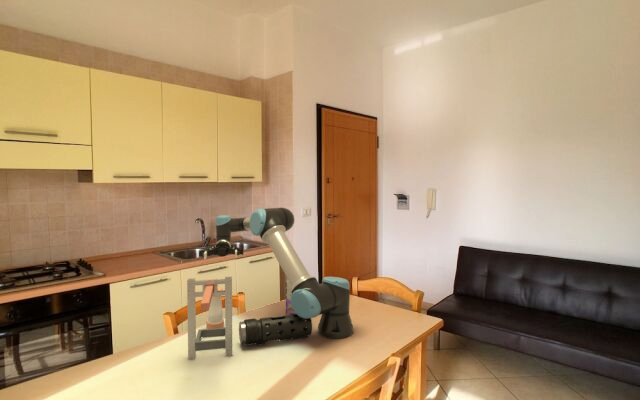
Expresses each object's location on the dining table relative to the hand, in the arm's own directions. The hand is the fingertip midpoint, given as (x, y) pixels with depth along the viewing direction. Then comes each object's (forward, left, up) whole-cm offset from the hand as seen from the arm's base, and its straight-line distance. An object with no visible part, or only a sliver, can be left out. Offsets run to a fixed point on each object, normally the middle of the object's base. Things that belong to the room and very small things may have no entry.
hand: (220, 255), depth 164 cm
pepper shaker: (-5, +5, -31) cm, 32 cm away
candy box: (-16, -34, -31) cm, 48 cm away
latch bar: (-35, +22, -7) cm, 42 cm away
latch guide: (-27, +18, -30) cm, 44 cm away
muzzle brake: (-33, -7, -31) cm, 45 cm away
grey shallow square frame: (-17, +12, -30) cm, 37 cm away
